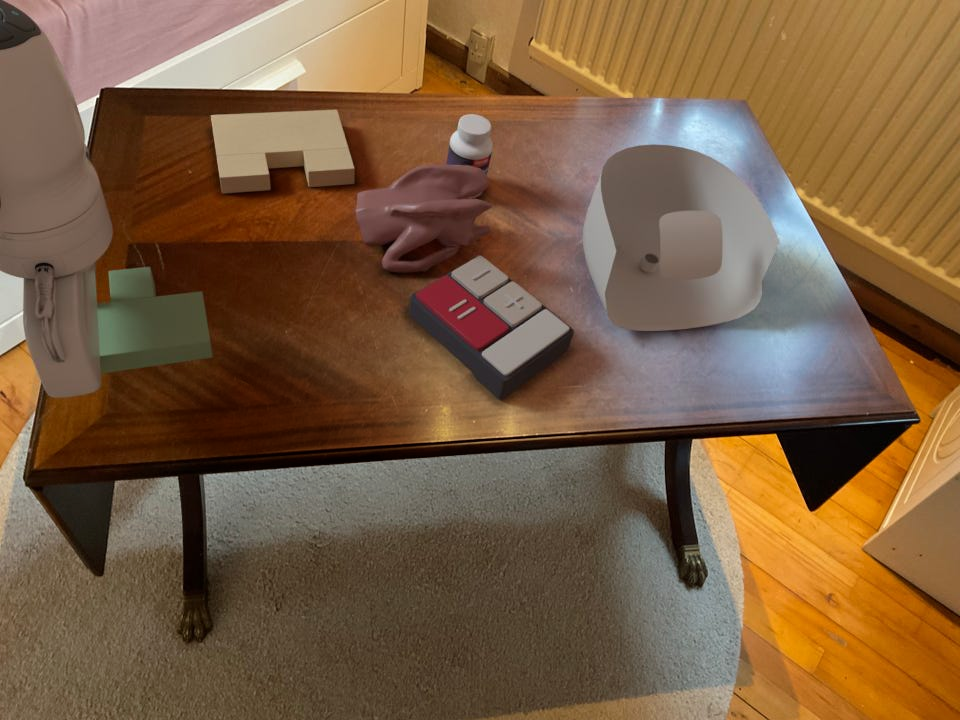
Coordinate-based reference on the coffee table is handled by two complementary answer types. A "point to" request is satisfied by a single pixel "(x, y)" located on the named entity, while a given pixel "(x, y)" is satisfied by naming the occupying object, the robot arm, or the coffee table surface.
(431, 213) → the figurine
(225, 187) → the beige pad
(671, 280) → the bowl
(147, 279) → the green pad
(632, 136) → the coffee table surface
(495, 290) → the calculator
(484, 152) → the pill bottle
